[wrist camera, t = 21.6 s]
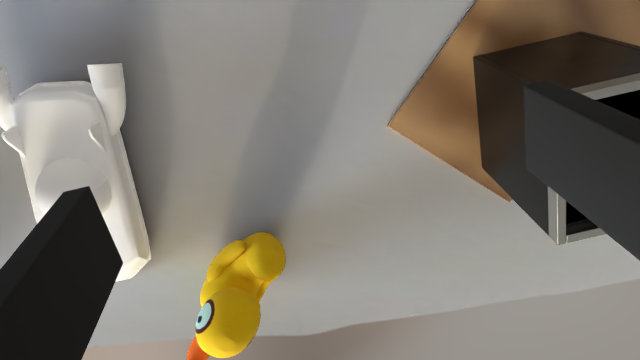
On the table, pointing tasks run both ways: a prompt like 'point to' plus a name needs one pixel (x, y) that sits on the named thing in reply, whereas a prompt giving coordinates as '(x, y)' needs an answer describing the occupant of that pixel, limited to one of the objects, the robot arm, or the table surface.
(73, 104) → the white piece
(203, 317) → the duckling
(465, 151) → the wooden board
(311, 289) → the table surface
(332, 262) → the table surface
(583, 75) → the desk bin
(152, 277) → the table surface
